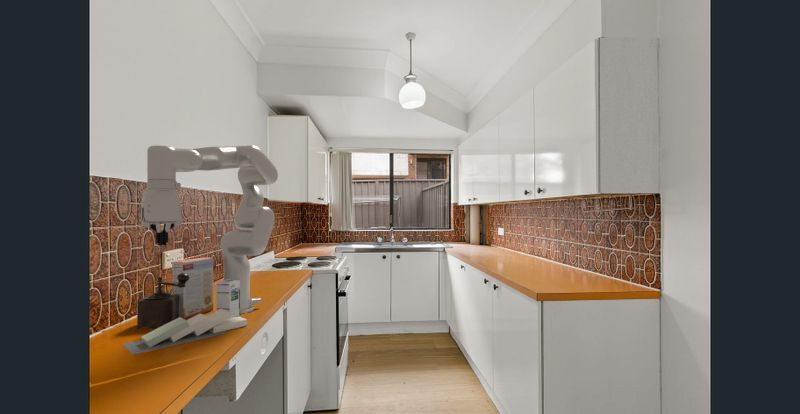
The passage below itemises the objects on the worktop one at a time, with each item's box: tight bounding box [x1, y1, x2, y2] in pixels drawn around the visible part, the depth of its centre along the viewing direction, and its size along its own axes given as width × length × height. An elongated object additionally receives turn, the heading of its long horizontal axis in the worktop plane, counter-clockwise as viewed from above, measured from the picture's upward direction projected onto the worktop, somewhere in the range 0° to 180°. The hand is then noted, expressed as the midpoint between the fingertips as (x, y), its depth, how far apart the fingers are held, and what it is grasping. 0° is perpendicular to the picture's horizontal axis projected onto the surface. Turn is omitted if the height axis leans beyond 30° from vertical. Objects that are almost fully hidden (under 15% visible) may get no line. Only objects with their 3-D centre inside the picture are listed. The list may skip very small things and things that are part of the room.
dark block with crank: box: [136, 273, 189, 330], centre depth 133 cm, size 16×11×18 cm
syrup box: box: [215, 279, 241, 319], centre depth 137 cm, size 6×6×14 cm
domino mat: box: [122, 330, 227, 355], centre depth 117 cm, size 25×12×1 cm, turn 138°
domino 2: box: [168, 313, 210, 342], centre depth 119 cm, size 2×6×11 cm
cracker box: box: [171, 257, 214, 320], centre depth 146 cm, size 14×6×21 cm, turn 161°
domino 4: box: [208, 316, 248, 333], centre depth 128 cm, size 2×6×11 cm
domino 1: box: [140, 317, 189, 347], centre depth 114 cm, size 2×6×11 cm
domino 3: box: [191, 309, 231, 336], centre depth 124 cm, size 2×6×11 cm
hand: (162, 245), depth 119 cm, fingers closed
